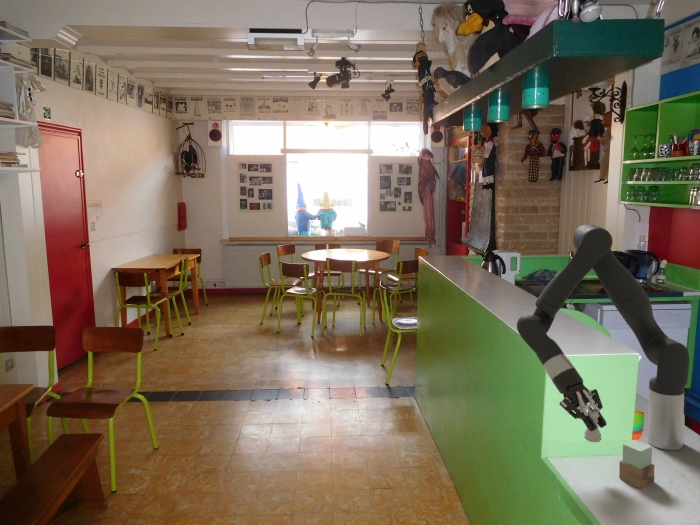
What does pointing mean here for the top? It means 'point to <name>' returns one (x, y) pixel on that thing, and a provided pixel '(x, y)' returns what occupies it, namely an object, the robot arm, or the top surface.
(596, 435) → the rook chess piece
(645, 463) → the sage top block
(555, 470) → the top surface
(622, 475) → the walnut base block
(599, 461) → the top surface
